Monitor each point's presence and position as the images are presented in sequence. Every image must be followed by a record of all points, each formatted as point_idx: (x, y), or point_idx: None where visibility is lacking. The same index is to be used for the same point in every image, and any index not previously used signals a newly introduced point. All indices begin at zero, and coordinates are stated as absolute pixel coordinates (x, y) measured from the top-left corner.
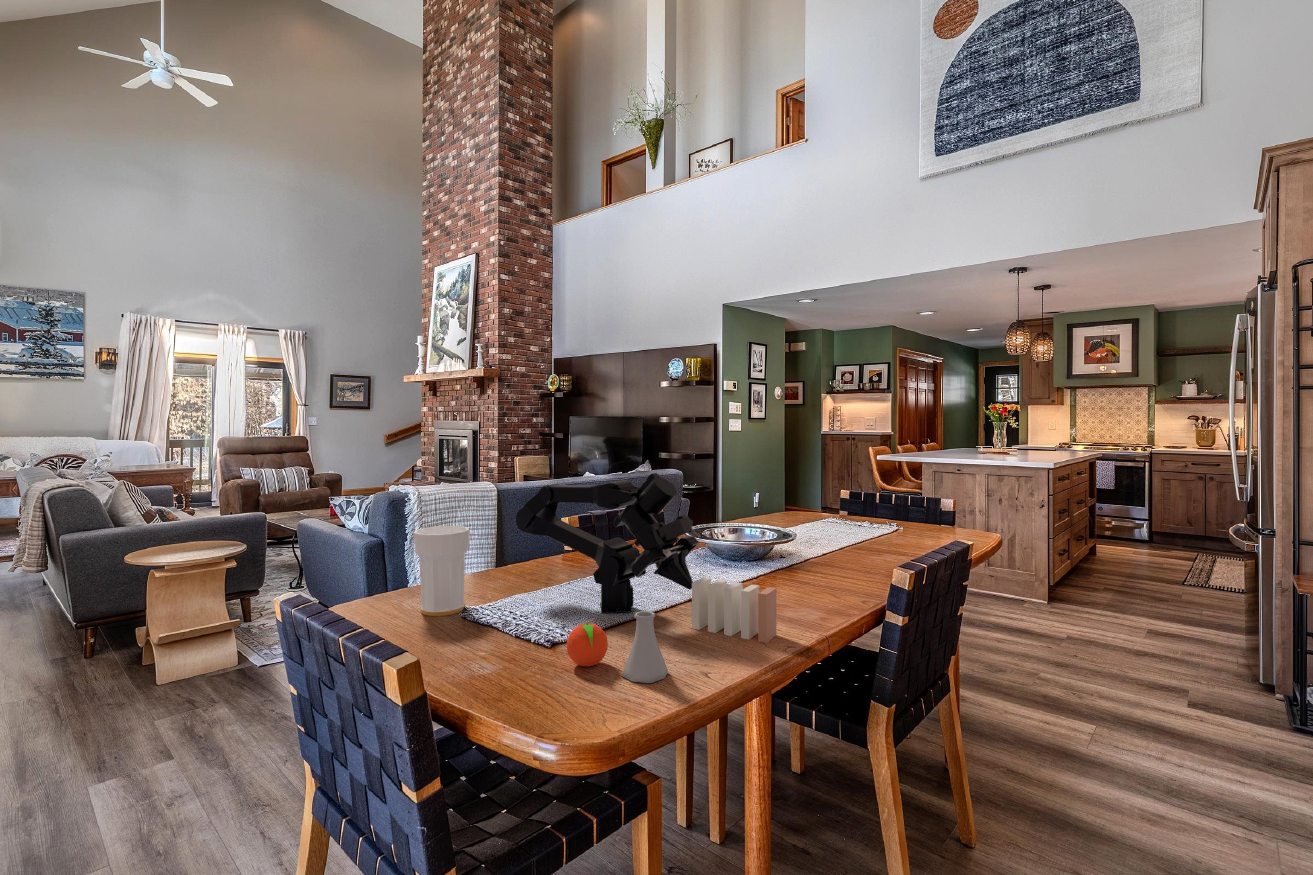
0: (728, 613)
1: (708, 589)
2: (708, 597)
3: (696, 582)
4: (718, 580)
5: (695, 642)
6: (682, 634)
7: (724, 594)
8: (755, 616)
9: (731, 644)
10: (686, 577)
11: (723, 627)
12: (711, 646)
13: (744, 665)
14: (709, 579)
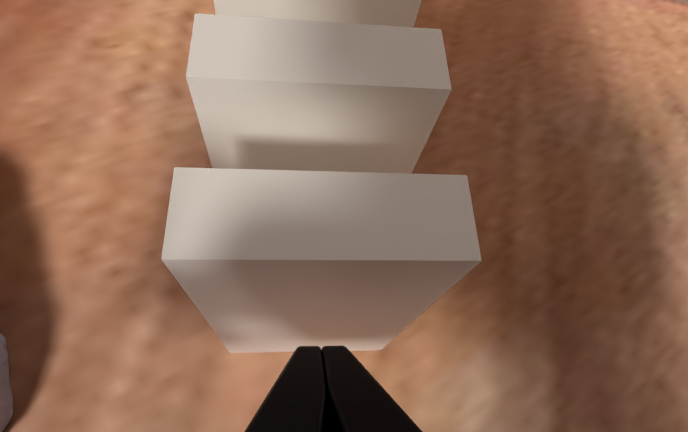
0: None
1: (440, 108)
2: (418, 150)
3: (428, 227)
4: (218, 75)
5: (536, 234)
6: (494, 343)
7: (417, 11)
8: None
9: (453, 106)
10: (387, 411)
11: None
12: (525, 159)
13: (583, 19)
14: (212, 169)
